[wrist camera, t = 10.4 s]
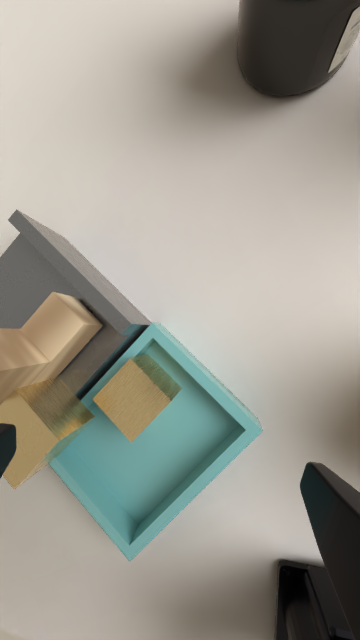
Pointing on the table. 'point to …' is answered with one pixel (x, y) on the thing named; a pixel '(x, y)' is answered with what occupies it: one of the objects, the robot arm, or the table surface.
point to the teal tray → (155, 448)
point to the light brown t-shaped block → (44, 342)
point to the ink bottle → (294, 42)
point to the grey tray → (69, 279)
